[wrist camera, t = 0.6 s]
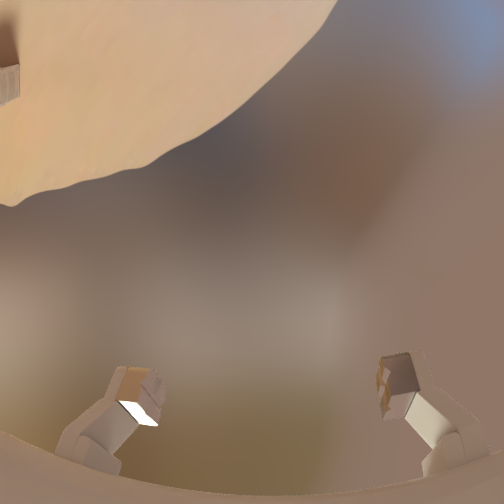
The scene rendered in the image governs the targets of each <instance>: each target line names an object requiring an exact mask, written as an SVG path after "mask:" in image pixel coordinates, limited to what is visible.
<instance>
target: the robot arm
mask: <svg viewBox="0 0 504 504" xmlns="http://www.w3.org/2000/svg"><path fill="white" fill-rule="evenodd" d="M379 366H380V368H379V369H378V370H377V374H376V386H377V393H378V395H379V396H380V397H381V398H382V399H381V402H380V410H381V415H382V420H390V419H396V418H402V417H405V419H406V420H407V421H408V422H409V423H410V424H411V426H412V427H413V428H414V429H415V430H416V431H417V432H418V434H420V436H421V437H422V438H423V439H424V440H425V441H426V442H427V444H428V445H429V446H430V447H431V448H432V449H433V450H432V451H431V452H430V453H429V454H428V456H427V457H426V458H425V459H424V460H423V461H422V468H423V475H424V477H422V478H418V479H414V480H410V481H405V482H401V483H396V484H391V485H386V486H381V487H375V488H369V489H363V490H356V491H348V492H341V493H331V494H319V495H302V496H246V495H229V494H217V493H207V492H199V491H191V490H184V489H178V488H171V487H166V486H161V485H156V484H150V483H146V482H141V481H137V480H133V479H129V478H125V477H121V476H119V471H120V468H121V464H122V463H121V461H120V460H118V459H117V458H116V457H114V456H113V454H114V452H115V451H116V450H117V449H118V448H119V447H120V446H121V445H122V444H123V443H124V441H125V440H126V439H127V438H128V437H129V436H130V435H131V434H132V433H133V432H134V430H135V429H136V428H137V427H138V426H139V424H145V425H156V426H158V423H159V419H160V416H161V409H160V406H161V405H162V404H163V403H164V401H165V398H166V388H165V384H164V383H163V381H162V380H161V379H159V378H157V372H156V371H155V370H154V369H151V368H136V367H124V366H119V367H118V368H117V369H116V370H115V373H114V375H113V377H112V380H111V382H110V385H109V387H108V389H107V392H106V394H105V397H104V399H100V400H99V401H97V402H96V403H95V404H94V405H92V406H91V407H90V408H89V409H88V410H87V411H85V412H84V413H83V414H82V415H80V416H79V417H78V418H77V419H76V420H74V421H73V422H72V423H71V424H70V425H68V426H67V427H66V428H65V429H64V430H63V433H62V435H61V438H60V440H59V443H58V445H57V448H56V450H55V453H54V454H51V453H49V452H47V451H44V450H42V449H40V448H37V447H35V446H33V445H31V444H28V443H26V442H24V441H22V440H20V439H18V438H16V437H14V436H12V435H10V434H8V433H6V432H0V504H504V449H502V450H500V451H497V452H495V453H493V454H490V451H489V447H488V444H487V440H486V436H485V433H484V429H483V426H482V423H481V422H480V421H479V420H477V418H475V417H474V416H473V415H472V414H471V413H470V412H468V411H467V410H466V409H465V408H464V407H462V406H461V405H460V404H459V403H457V402H456V401H455V400H454V399H453V398H451V397H450V396H449V395H448V394H447V393H445V392H444V391H443V390H442V389H441V388H439V387H436V388H435V386H434V382H433V379H432V376H431V373H430V370H429V367H428V364H427V361H426V358H425V355H424V352H423V351H422V350H417V351H412V352H404V353H399V354H394V355H389V356H382V357H380V360H379Z"/></svg>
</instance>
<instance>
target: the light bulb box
mask: <svg viewBox="0 0 504 504" xmlns="http://www.w3.org/2000/svg"><path fill="white" fill-rule="evenodd" d="M19 97H20V88H19V64H15V65H11V66H7V67H3V68H0V107H1V106H3V105H5V104H7V103H9V102H11V101H13V100H15V99H17V98H19Z"/></svg>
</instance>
